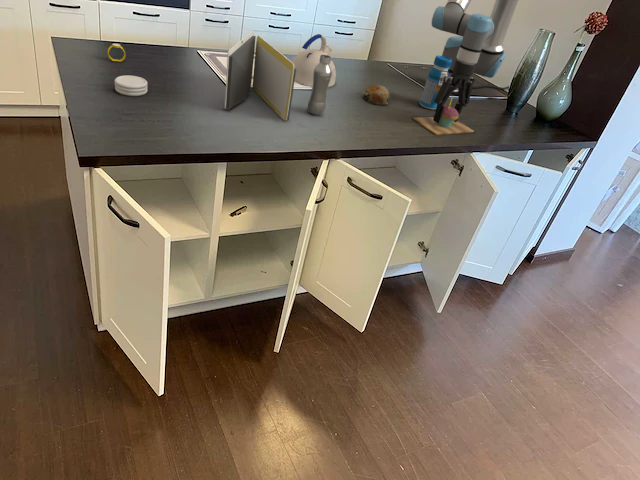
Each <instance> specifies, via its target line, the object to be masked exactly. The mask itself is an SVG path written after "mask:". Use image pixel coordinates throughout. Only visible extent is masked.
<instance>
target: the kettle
mask: <svg viewBox="0 0 640 480" xmlns="http://www.w3.org/2000/svg"><path fill="white" fill-rule="evenodd" d="M319 39H320V41H321V42H320V48H319V49H314V48H312V49H308V48H309V47H310V46H311V44H313V43H314V42H315V41H317V40H319ZM301 48H302V49H304V50H303V51H301V52H299V53H298V54H296V56H294V58H293V59H292V60H291V62H292V63H293V64H294V68H295V69H296V74H295V81H294V83H297V84H301V85H303V86H307V87H311V88H312V87H313V72H314V68H315V67H316V66H317V65H318V64H319V63H320V61H319V59H320V56H321V55H328V56H330V54H331V52H332V48H331V47H330V46H329V45H327V39H326V37H325V35H323V34H320V33H317V34H315V35H313V36H311V37H310V38H309V39H308V40H307V41H306V42H304V44H303V45H302V46H301ZM329 65H330V68H331V71H332V75H331V79H330V82H329V85H328V88H331V87H333V86H334V85H336V79H337V78H336V77H337V71H336V67H335V64H334V62H333V60H332V59H331V60H330V63H329Z"/></svg>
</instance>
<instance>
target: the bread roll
mask: <svg viewBox="0 0 640 480" xmlns="http://www.w3.org/2000/svg"><path fill="white" fill-rule="evenodd" d="M363 97H364V99H365V101H367V102H369V103H371V104H374V105H378V106H379V105H380V106H384V105H388V104H389V100H390V91H389V90H388V88H386V87H385V86H384V85H381V84H374V85H371V86H369V87H368V88H366V89H365V91H364V94H363Z"/></svg>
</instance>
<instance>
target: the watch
mask: <svg viewBox="0 0 640 480" xmlns="http://www.w3.org/2000/svg"><path fill="white" fill-rule="evenodd" d="M112 48H117V49H120V50H122V52H123V56H122V58H120V59H115V58H113V57H112V56H111V55H110V51H111V50H112ZM107 56H108V58H109V60H111V61H112V62H118V63H122V62H123V61H124V60H125V59H126V56H127V55H126V51H125V49H124V48H123V46H122V45H121V44H120V43H112V44H111V45H109V47H108V48H107Z"/></svg>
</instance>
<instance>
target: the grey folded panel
mask: <svg viewBox="0 0 640 480" xmlns="http://www.w3.org/2000/svg"><path fill="white" fill-rule="evenodd" d="M226 60H227V61H226V77H225V91H224V92H225V94H224V110H227V109H228V110H230V109H231V108H233V107H234V106H237V105H238V104H240V103H241V102H242V101H244V100H245V98H246V97H247V96H248V94H249V93H250V92H251V88H252V89H253V90H254V91H255V92H256V93H257V95H258V96H260V97H261V98H262V99H263V101H265V103H266V104H267V105H268V106H269V107H270V108H271V109H272V110H273V111H274V112H275V113H276V114H277V115H278V116H279V117H280V118H281V119H282V120H283V121H284V122H286V121H289V120H290V115H291V109H292V101H293V93H294V88H295V87H294V86H295V74H296V69H295V68H294V64H293V63H292V60H290V59H289V58H287V57H286V56H285V55H284V54H283V53H281V51H279V50H277V48H275V47H274V46H273V45H271V44H270V43H269V42H268V41H267V40H265V39H264V38H263V37H261V36H260V35H257V36H256V35H254V30H251V31H250V32H249V33H247V34H246V35H245V36H244V37H243V38H242V39H240V40H239V41H237V43H235V45H233V46H232V47H230V48H229V49H228V51H227V59H226Z"/></svg>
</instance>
